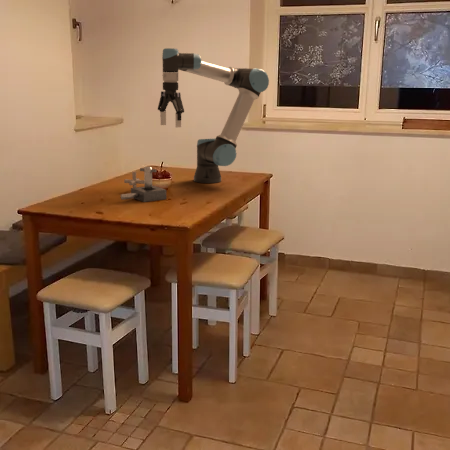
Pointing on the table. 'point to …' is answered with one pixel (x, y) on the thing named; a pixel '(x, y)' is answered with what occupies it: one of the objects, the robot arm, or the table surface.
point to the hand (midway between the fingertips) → (170, 126)
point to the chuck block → (146, 194)
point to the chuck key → (148, 177)
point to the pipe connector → (134, 180)
